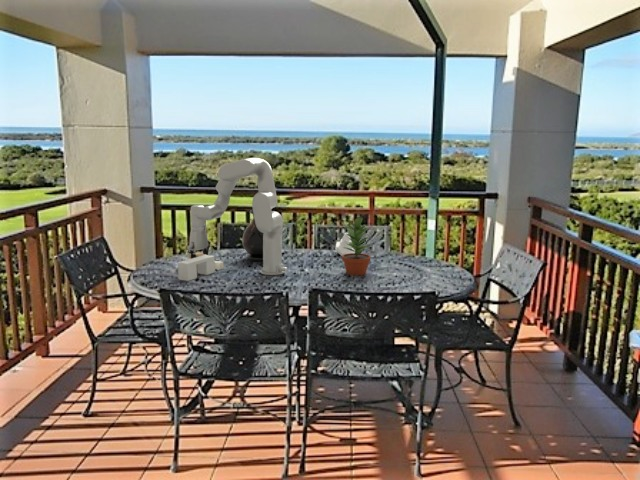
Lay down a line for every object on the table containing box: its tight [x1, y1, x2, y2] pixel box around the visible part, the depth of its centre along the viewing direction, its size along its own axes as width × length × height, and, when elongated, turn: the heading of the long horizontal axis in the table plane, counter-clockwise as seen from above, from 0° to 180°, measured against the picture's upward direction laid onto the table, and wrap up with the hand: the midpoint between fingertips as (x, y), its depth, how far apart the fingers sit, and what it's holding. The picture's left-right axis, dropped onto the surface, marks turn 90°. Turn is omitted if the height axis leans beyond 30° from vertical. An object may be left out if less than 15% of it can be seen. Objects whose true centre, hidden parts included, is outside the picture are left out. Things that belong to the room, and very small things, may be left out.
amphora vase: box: [241, 209, 273, 262], centre depth 306 cm, size 22×22×28 cm
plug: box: [189, 252, 225, 271], centre depth 288 cm, size 20×6×6 cm, turn 61°
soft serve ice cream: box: [334, 231, 355, 257], centre depth 323 cm, size 12×15×14 cm
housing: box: [177, 254, 216, 282], centre depth 269 cm, size 6×20×8 cm, turn 151°
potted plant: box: [342, 217, 371, 276], centre depth 277 cm, size 15×15×30 cm
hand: (199, 259), depth 291 cm, fingers open, 9 cm apart
